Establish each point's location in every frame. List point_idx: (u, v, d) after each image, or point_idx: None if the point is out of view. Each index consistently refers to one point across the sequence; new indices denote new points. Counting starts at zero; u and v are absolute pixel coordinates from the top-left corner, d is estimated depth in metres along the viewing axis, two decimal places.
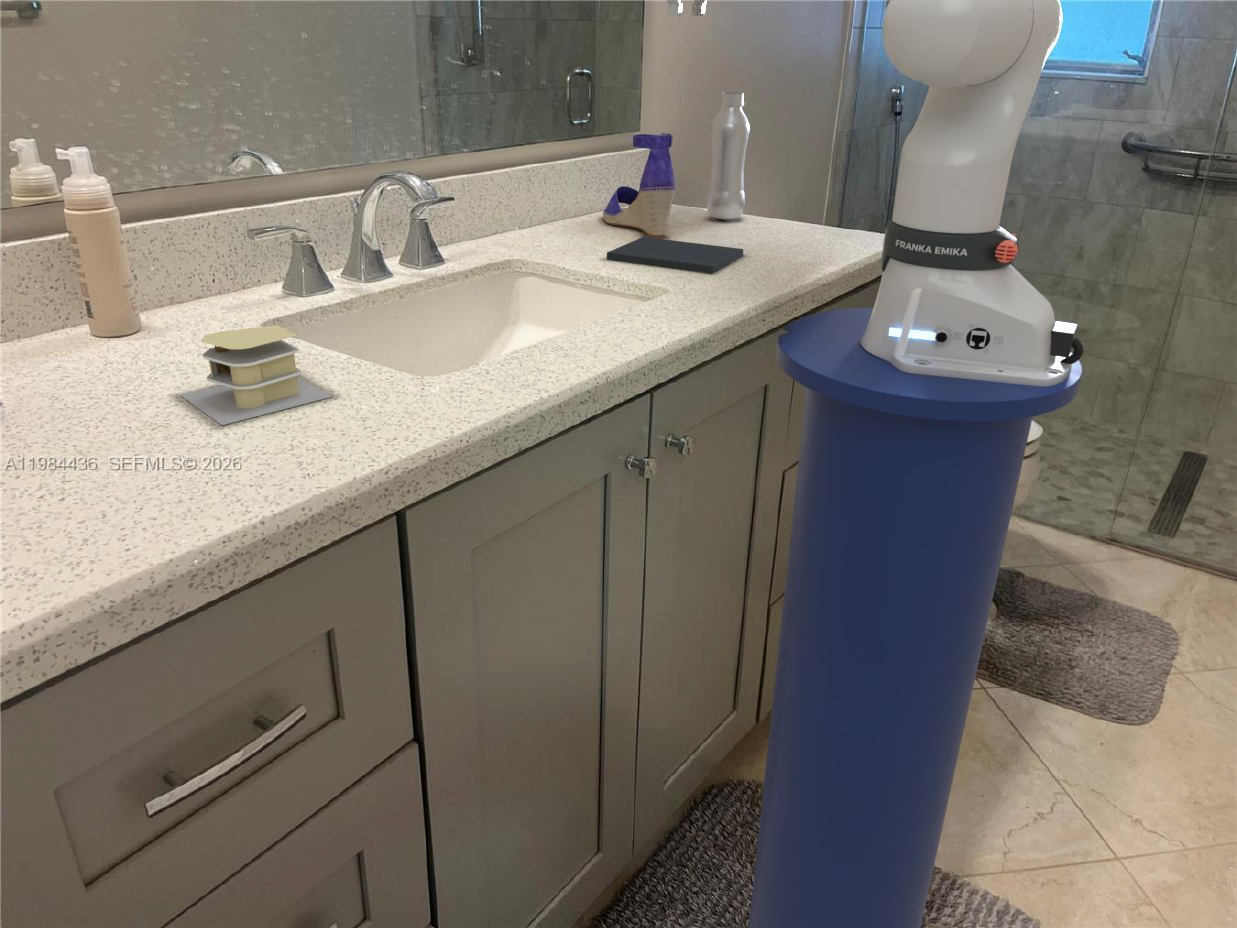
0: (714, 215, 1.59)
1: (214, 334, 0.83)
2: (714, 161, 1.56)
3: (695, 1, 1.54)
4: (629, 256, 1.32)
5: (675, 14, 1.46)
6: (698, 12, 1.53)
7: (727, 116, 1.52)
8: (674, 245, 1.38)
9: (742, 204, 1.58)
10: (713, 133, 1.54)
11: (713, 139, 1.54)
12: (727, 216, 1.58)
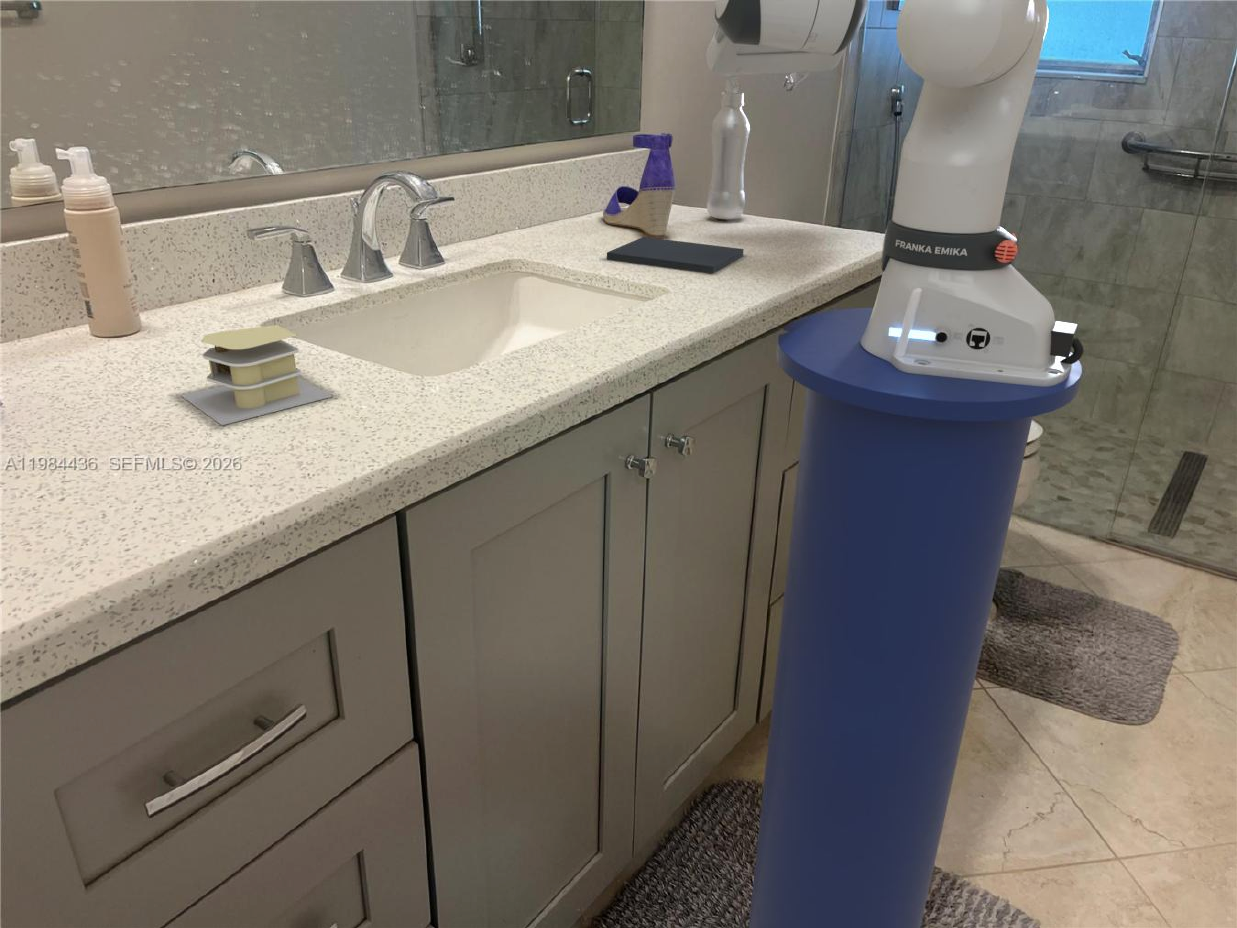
0: (714, 215, 1.59)
1: (213, 334, 0.83)
2: (714, 161, 1.56)
3: (792, 73, 1.43)
4: (629, 256, 1.32)
5: (727, 92, 1.42)
6: (785, 87, 1.44)
7: (727, 116, 1.52)
8: (674, 245, 1.38)
9: (742, 204, 1.58)
10: (713, 133, 1.54)
11: (713, 139, 1.54)
12: (727, 216, 1.58)
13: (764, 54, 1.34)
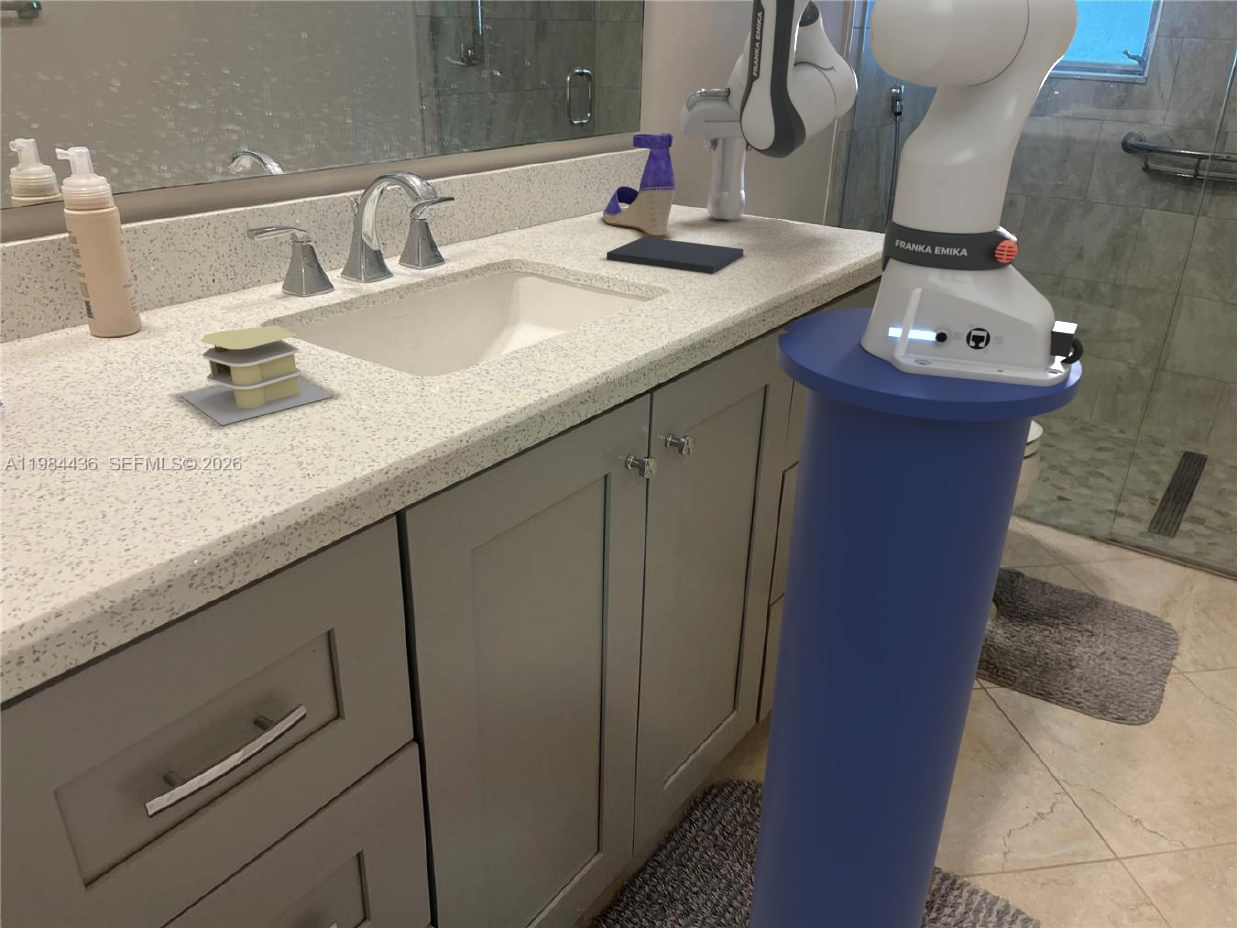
0: (714, 215, 1.59)
1: (214, 334, 0.83)
2: (714, 161, 1.56)
3: None
4: (629, 256, 1.32)
5: (704, 150, 1.55)
6: None
7: None
8: (674, 245, 1.38)
9: (742, 204, 1.58)
10: None
11: (713, 139, 1.55)
12: (727, 216, 1.58)
13: (731, 121, 1.48)
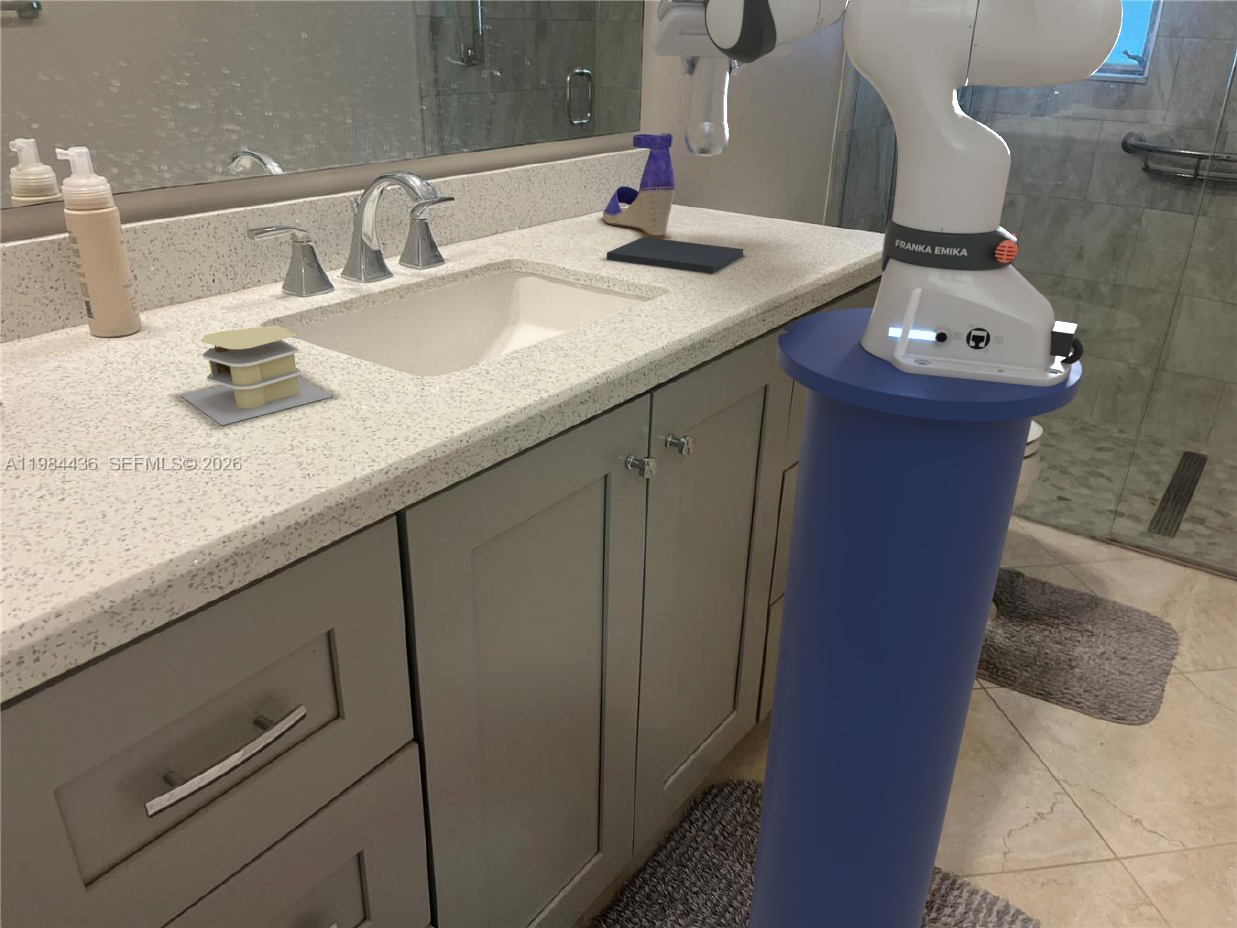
0: (693, 150, 1.38)
1: (214, 334, 0.83)
2: (692, 87, 1.36)
3: None
4: (629, 256, 1.32)
5: (681, 73, 1.35)
6: None
7: None
8: (674, 245, 1.38)
9: (725, 137, 1.38)
10: None
11: (691, 60, 1.34)
12: (707, 150, 1.38)
13: None
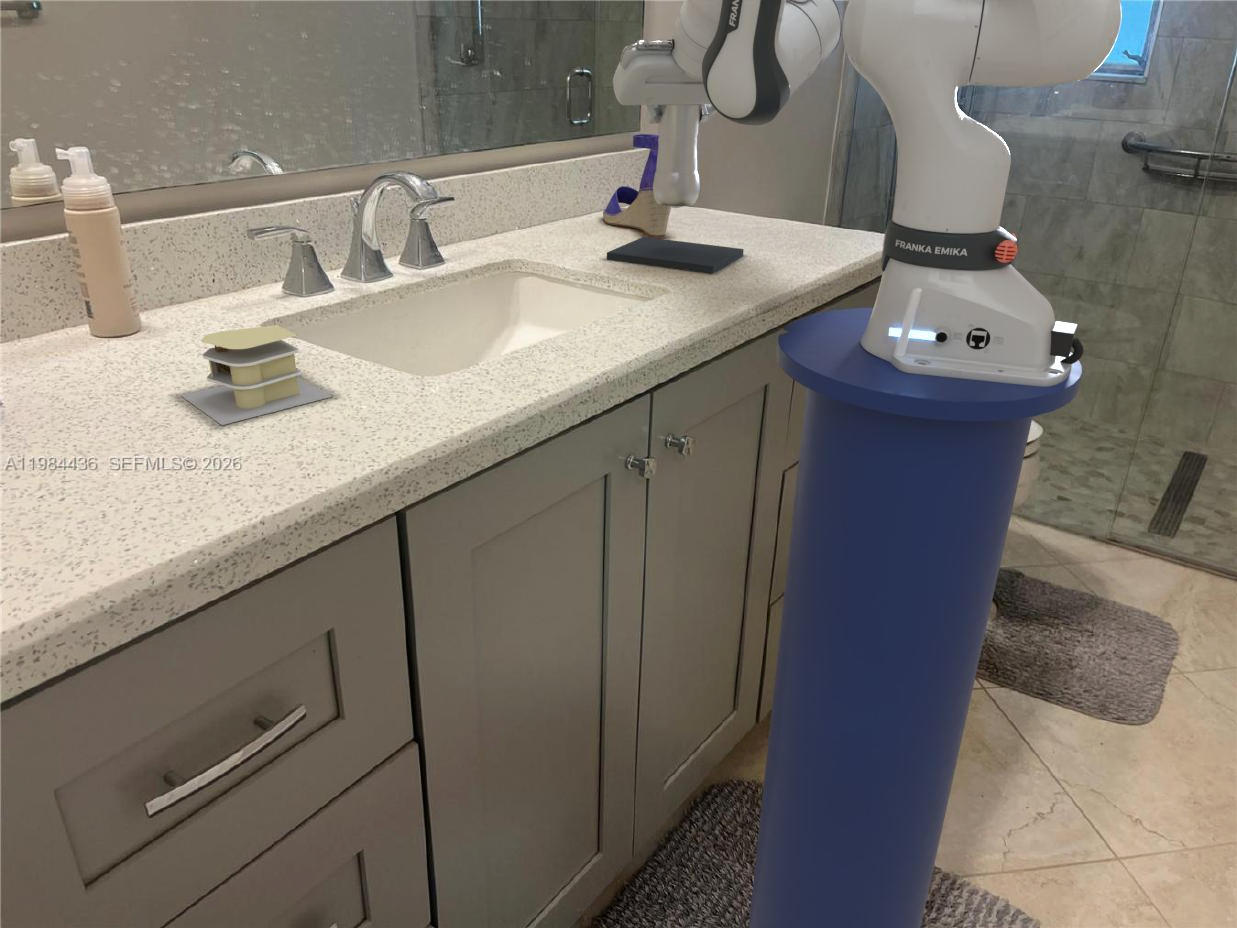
0: (662, 202, 1.30)
1: (214, 334, 0.83)
2: (660, 135, 1.27)
3: None
4: (629, 256, 1.32)
5: (648, 121, 1.26)
6: None
7: None
8: (674, 245, 1.38)
9: (696, 188, 1.29)
10: None
11: (658, 107, 1.25)
12: (677, 202, 1.29)
13: (678, 83, 1.18)
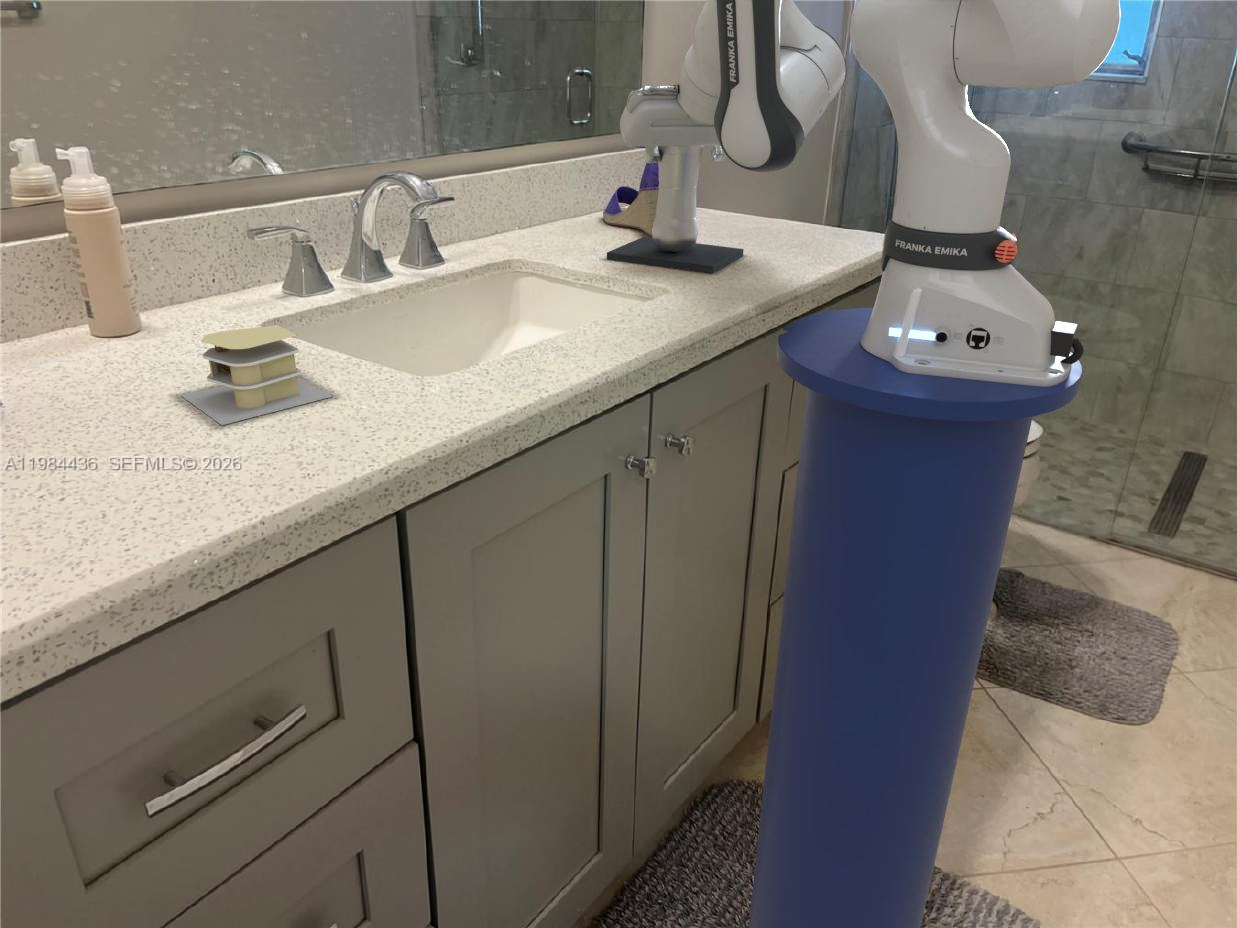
0: (660, 246, 1.32)
1: (214, 334, 0.83)
2: (660, 182, 1.29)
3: None
4: (629, 256, 1.32)
5: (646, 160, 1.28)
6: (713, 157, 1.30)
7: None
8: None
9: (694, 234, 1.32)
10: (659, 148, 1.27)
11: None
12: (675, 247, 1.32)
13: (683, 126, 1.20)
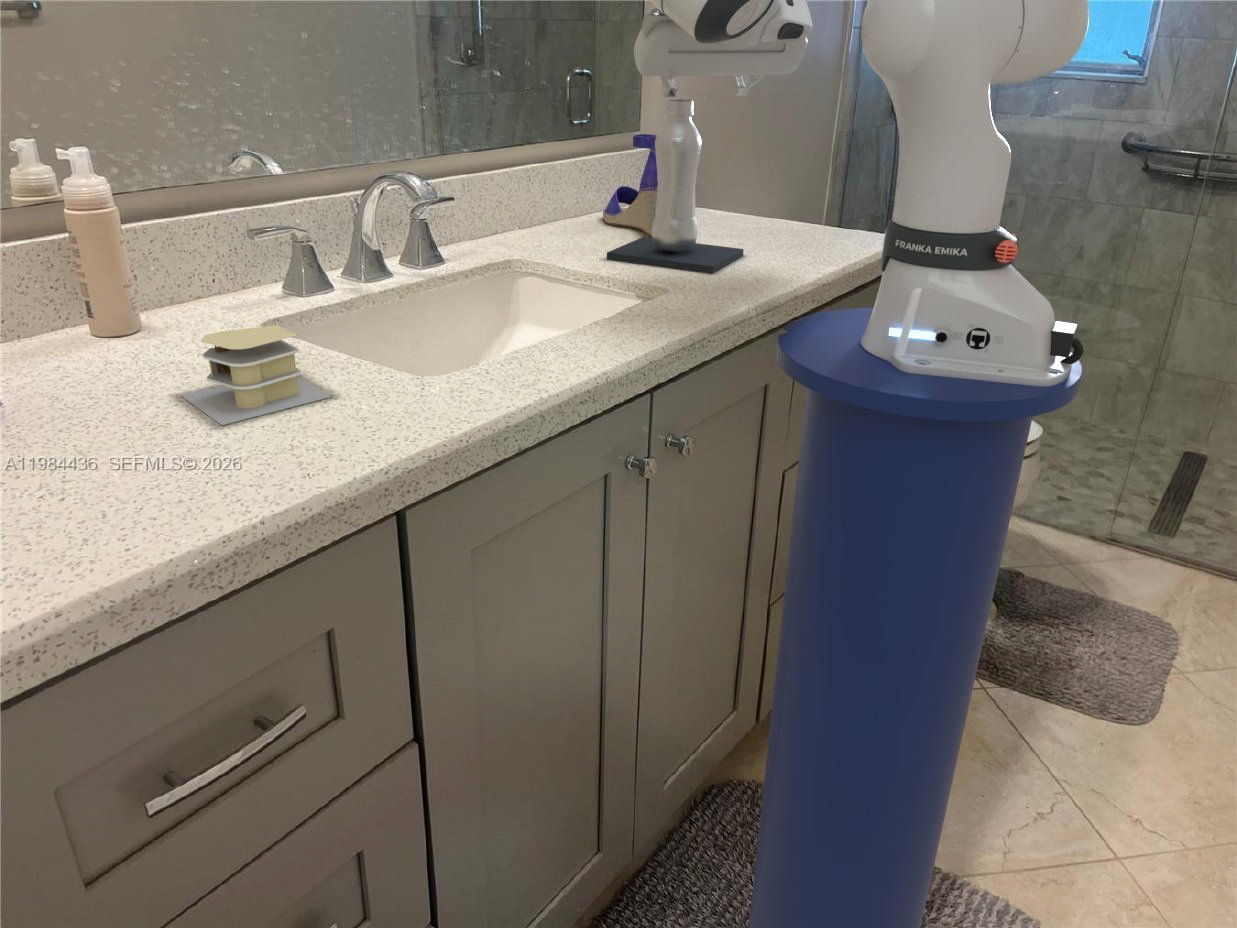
0: (660, 247, 1.32)
1: (214, 334, 0.83)
2: (659, 182, 1.29)
3: (744, 75, 1.18)
4: (629, 256, 1.32)
5: (662, 94, 1.17)
6: (735, 91, 1.19)
7: (673, 128, 1.25)
8: None
9: (694, 234, 1.32)
10: (657, 149, 1.27)
11: (657, 156, 1.28)
12: (675, 247, 1.32)
13: (704, 52, 1.10)
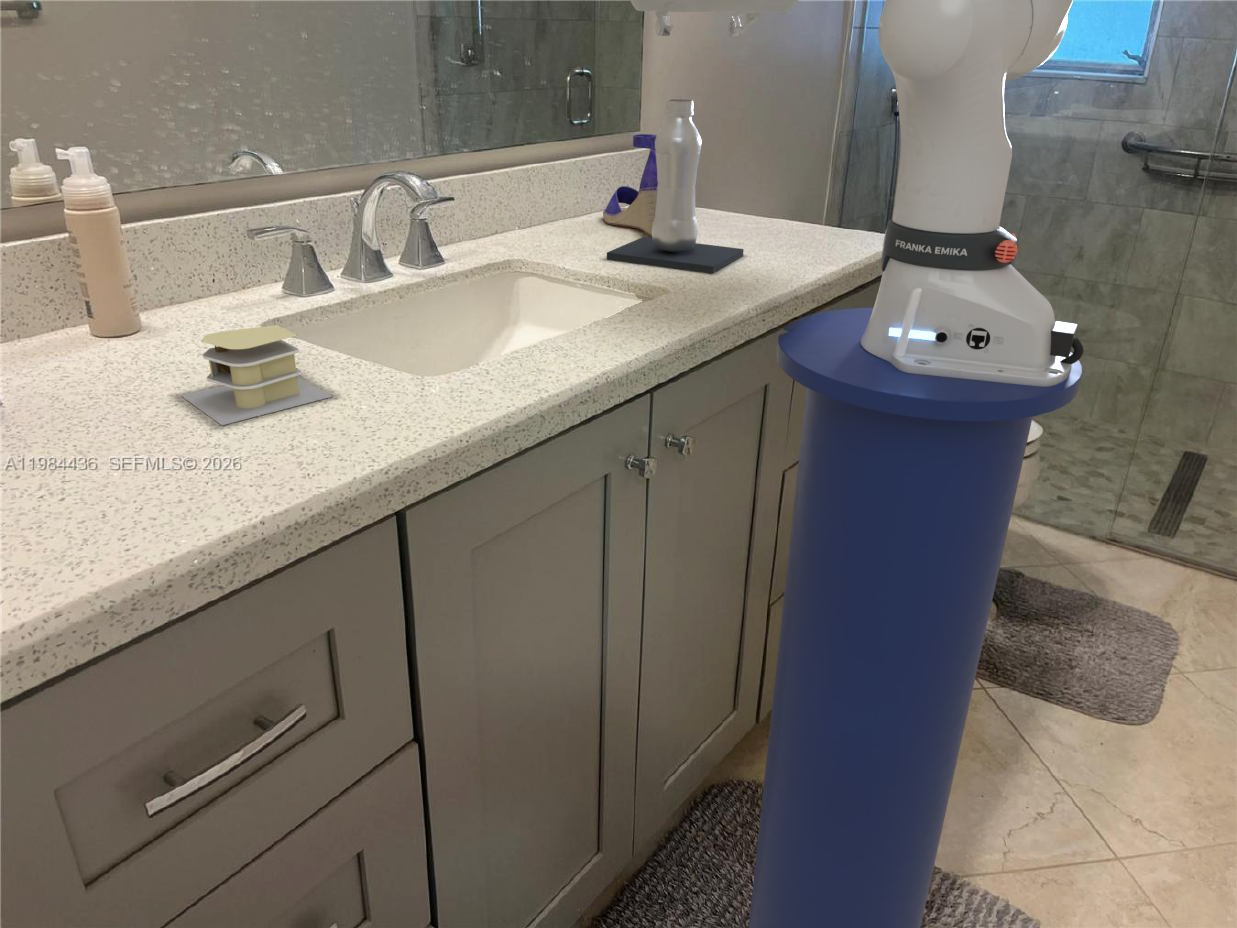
0: (660, 247, 1.32)
1: (214, 334, 0.83)
2: (659, 182, 1.29)
3: (741, 15, 1.15)
4: (629, 256, 1.32)
5: (657, 33, 1.14)
6: (731, 31, 1.16)
7: (673, 128, 1.25)
8: None
9: (694, 234, 1.32)
10: (657, 149, 1.27)
11: (657, 156, 1.28)
12: (675, 248, 1.32)
13: None
